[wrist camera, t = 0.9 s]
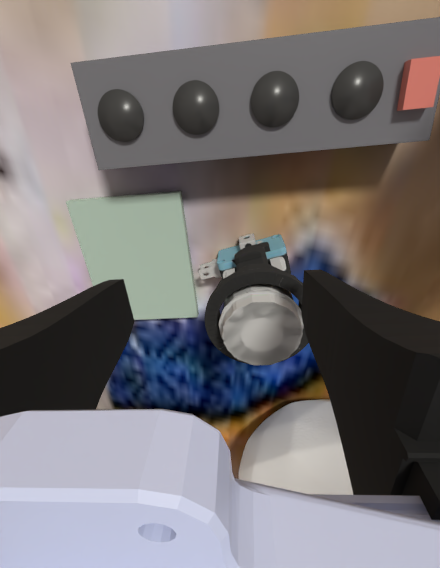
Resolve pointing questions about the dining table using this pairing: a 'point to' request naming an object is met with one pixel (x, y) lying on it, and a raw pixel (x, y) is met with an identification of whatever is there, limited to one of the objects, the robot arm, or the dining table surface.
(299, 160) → the dining table surface
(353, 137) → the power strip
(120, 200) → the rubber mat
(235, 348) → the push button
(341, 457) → the white rounded upright lump
